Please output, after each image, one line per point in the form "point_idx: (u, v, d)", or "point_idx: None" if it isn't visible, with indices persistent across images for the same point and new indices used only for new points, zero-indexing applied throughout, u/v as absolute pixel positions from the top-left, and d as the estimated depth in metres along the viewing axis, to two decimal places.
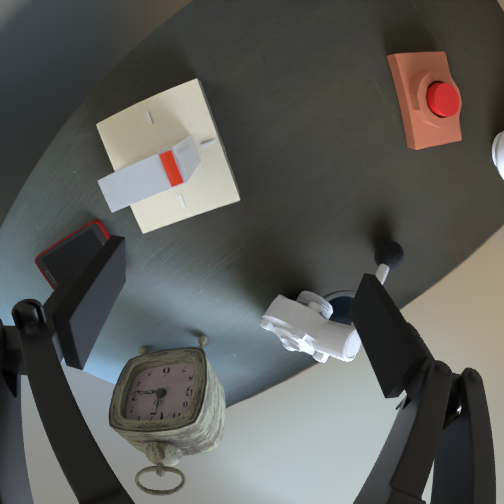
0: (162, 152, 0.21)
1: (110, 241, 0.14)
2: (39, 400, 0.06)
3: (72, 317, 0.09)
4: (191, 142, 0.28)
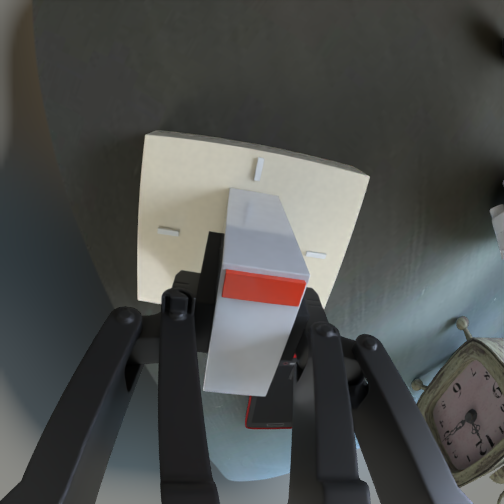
0: (221, 286, 0.10)
1: (211, 236, 0.16)
2: (163, 380, 0.08)
3: None
4: (241, 195, 0.17)
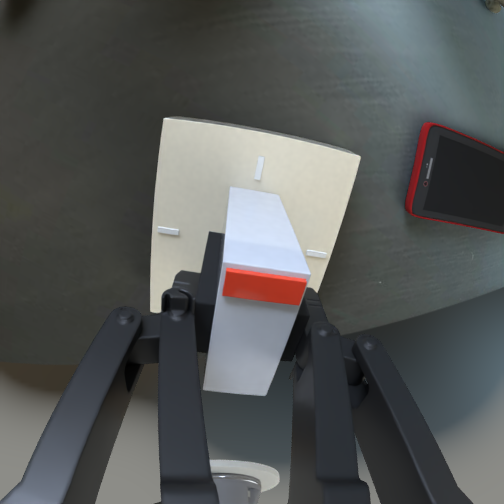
0: (221, 285, 0.10)
1: (211, 236, 0.16)
2: (163, 380, 0.08)
3: (214, 302, 0.11)
4: (241, 194, 0.17)
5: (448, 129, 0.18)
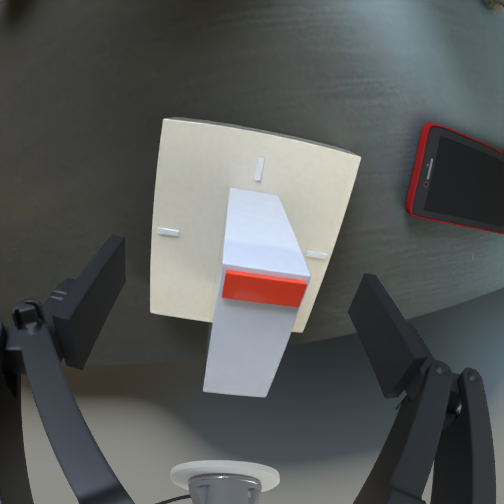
0: (221, 287, 0.10)
1: (110, 241, 0.14)
2: (39, 400, 0.06)
3: (72, 317, 0.09)
4: (241, 195, 0.17)
5: (448, 129, 0.18)
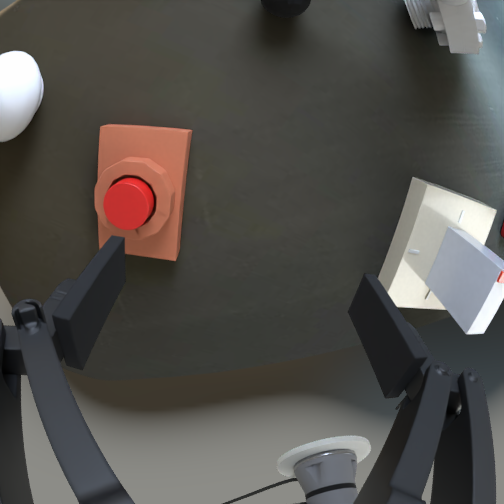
0: (497, 278, 0.19)
1: (110, 241, 0.14)
2: (39, 400, 0.06)
3: (72, 317, 0.09)
4: (458, 232, 0.25)
5: None
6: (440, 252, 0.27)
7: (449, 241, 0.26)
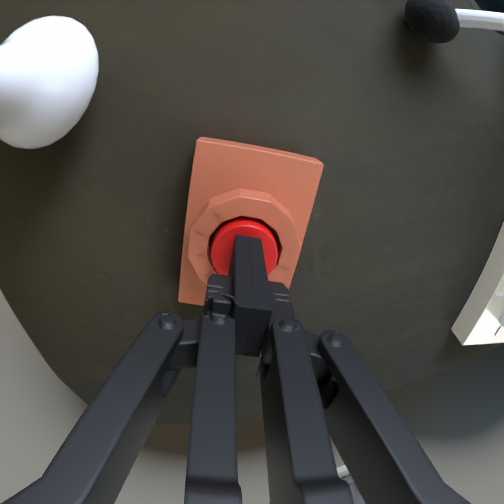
0: None
1: (239, 240, 0.17)
2: (199, 382, 0.08)
3: None
4: None
5: None
6: None
7: None
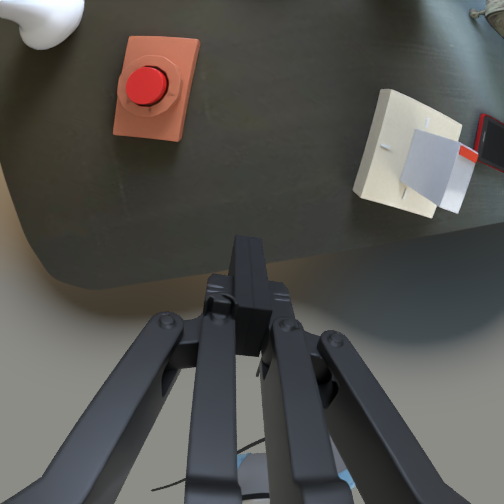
0: (459, 151, 0.23)
1: (239, 240, 0.17)
2: (199, 382, 0.08)
3: None
4: None
5: (492, 117, 0.30)
6: (410, 150, 0.31)
7: (417, 139, 0.30)
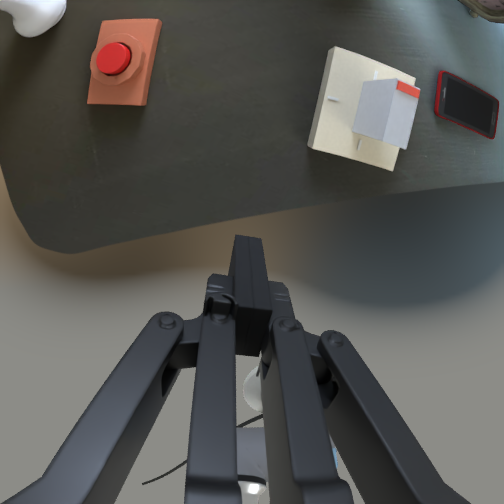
0: (396, 86, 0.24)
1: (239, 240, 0.17)
2: (199, 382, 0.08)
3: None
4: None
5: (451, 74, 0.32)
6: (359, 102, 0.32)
7: (364, 90, 0.31)
